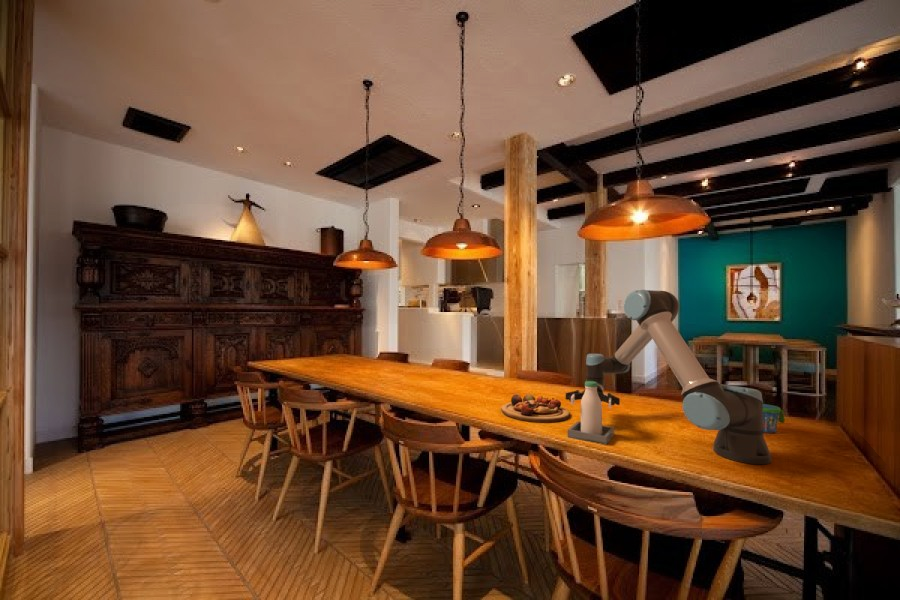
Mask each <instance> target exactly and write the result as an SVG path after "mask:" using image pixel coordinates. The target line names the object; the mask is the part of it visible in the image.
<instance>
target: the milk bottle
mask: <svg viewBox="0 0 900 600" xmlns="http://www.w3.org/2000/svg"><path fill="white" fill-rule="evenodd" d="M584 387H585V388H584V390H585V393H584V395H583V397H582V399H580V400H581V401H580V422H581V432H586V433H591V434H596V435H602V425H603V407H602V406H603V405H602V402H601V400H600V398H599V396H598V393H597V382H593V381H586V380H585V381H584Z"/></svg>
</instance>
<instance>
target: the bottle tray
mask: <svg viewBox="0 0 900 600" xmlns="http://www.w3.org/2000/svg"><path fill="white" fill-rule="evenodd" d="M613 435H614V436H615V427H614V426H608V425H603V424H602V435H596V434H591V433H586V432H581V420H580V421H576V422H575V423H574V424H573V425H572V426H570V427H569V428H567V438H569V439H574V440H580V441H585V442H588V441H591V442H590V443H593V442H597V443H596V444H598V443H601V444H600V445H603V444H606V445H605V446H607V445H608V444H609V443H610V442H611V440H612V439H611V438H613V437H614V436H613ZM608 442H609V443H608ZM607 443H608V444H607Z"/></svg>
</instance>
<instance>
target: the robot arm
mask: <svg viewBox="0 0 900 600" xmlns="http://www.w3.org/2000/svg"><path fill="white" fill-rule="evenodd" d="M623 311H624V314H625V316H626V317H627V318H629V319H630V320H632V321H636V322H637V324H638V326H637V327H636V328H635V329H634V330H633V332H632V333H631V334H630V335H629V336H628V337H627V339H625V341H624V342H623V343H622V344H621V346H620V347H619V348H618V349H617V350H616V351H615V352H614V353H613V355H612V356H611V357H605V356H604V355H603V354H602V353H588V354H586V362H585V365H586V378H585V379H586V380H585V382H586V381H593V382H597V393H598V396H599V398H600V400H601V403H602V402H603V403H607V404H608V409H610V410H611V409H612V406H615V405H617V406H620V403H621V402H620V397H617V396H616V395H613V394H611V392H608V393H606V394H604V393H605V375H611V374H613V375H615V374H624V373H627V372H629V371H630V368H631V362H632V361H633V360H634V359H635V358H636V357H637V356H638V355H639V354H640V353H641V351H643V350H644V349H645V348H646V346H647V345H648V344H649V343H650V342H651V341H652V340H653V342H654V343H655V345H656V346H657V348H658V350H659V351H660V353H661V355H662V356H663V358H664V360H665V361H666V363H667V365H668V366H669V368H670V369H671V371H672V373H673V375H674V376H675V377H676V379H677V381H678V382H679V385H680V386H681V387H682V390H681V394H680V395H681V397H682V398H683V401H682V411H683V413H684V414H683V415H685V417H686V418H687V419H688V421H689V422H690V423H691V424H693V425H694V426H695V427H697V428H700V429H702V430H706V431H717V433H716V436H715V437H714V438H715V439H714V441H713V443H712V445H713V446H712V447H713V448H712V449H713V450H712V451H713V452H714V453H715V454H717V456H721V457H723V458H725V459H729V460H730V461H731V460H732V461H735V462H738V463H746V464H751V465H768V464H771V463H772V454H771V451H770V449H769V447H768V446H769V445H767V442H766V439H765V436H764V432H763V404H764V401H763V394H762V392H761V391H760V390H759V389H755V388H751V387H750V388H749V387H744V386H737V385H730V384H722V383H721V384H720V383H719V382H718V380H715V379H712V378H710V377H709V376H708V374H707V373H706V371H705V370H704V368H703V367H702V365H701V364H700V362H699V361H698V359H697V358H696V356H695V355H694V353H693V351H692V350H691V348H690V347H689V346H688V344H687V343H686V340H684V338H683V337H682V335H681V333H680V332H679V331H678V329H677V328H676V326H675V325H674V323H673V321H674V320H675V319H676V317H677V316H678V314H679V311H680V301H679V300H678V298H677V297H676V295H674V294H673V293H672V292H669V291H667V290H648V289H647V290H646V289H639V290H638V289H637V290H633V291H631V292H630V293H628V295H627V296H626V298H625V300H624V304H623ZM584 393H585V389H584V390H582V391H581V392H580V390H578V389H575V390H574V391H569V392H566V393H565V400H568V401H569V402H570V405H574V403H575V402H576V401H578V400H582V397H583V395H584Z"/></svg>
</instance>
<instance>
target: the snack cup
mask: <svg viewBox="0 0 900 600" xmlns="http://www.w3.org/2000/svg"><path fill="white" fill-rule="evenodd" d="M785 421H786V420H785V415H784V412H783V410H782V409H781V407H779V406H777V405H772V404H771V405H770V404H766V403H763V433H767V434H771V433H773V432H774V433H776V432H777V429H778V423H781V424H784V423H785ZM774 433H773V434H774Z"/></svg>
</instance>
